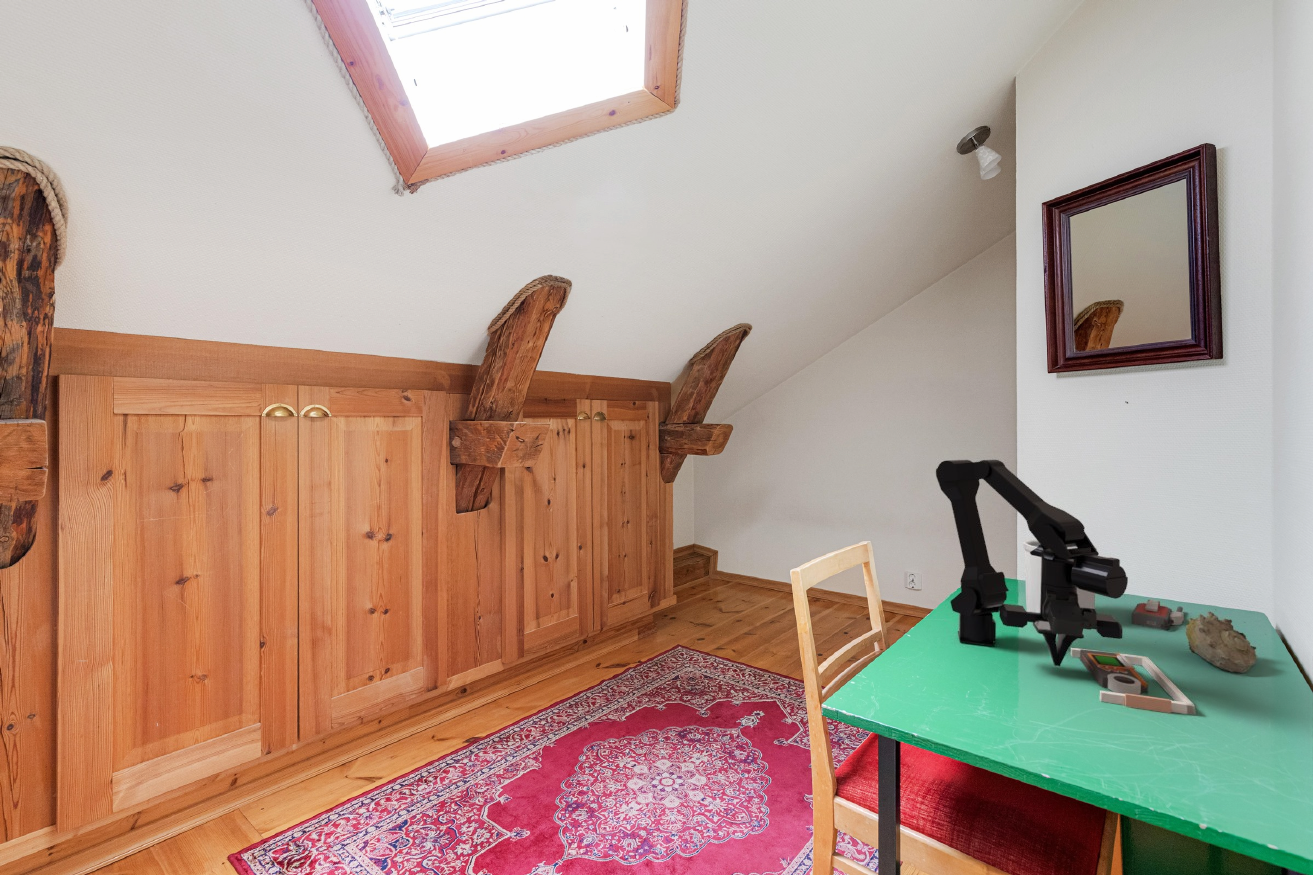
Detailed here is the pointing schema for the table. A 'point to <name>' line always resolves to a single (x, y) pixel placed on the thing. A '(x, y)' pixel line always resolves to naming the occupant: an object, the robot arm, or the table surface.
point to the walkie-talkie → (1156, 615)
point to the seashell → (1220, 643)
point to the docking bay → (1146, 702)
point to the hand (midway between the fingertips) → (1056, 665)
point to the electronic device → (1113, 672)
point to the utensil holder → (1034, 581)
